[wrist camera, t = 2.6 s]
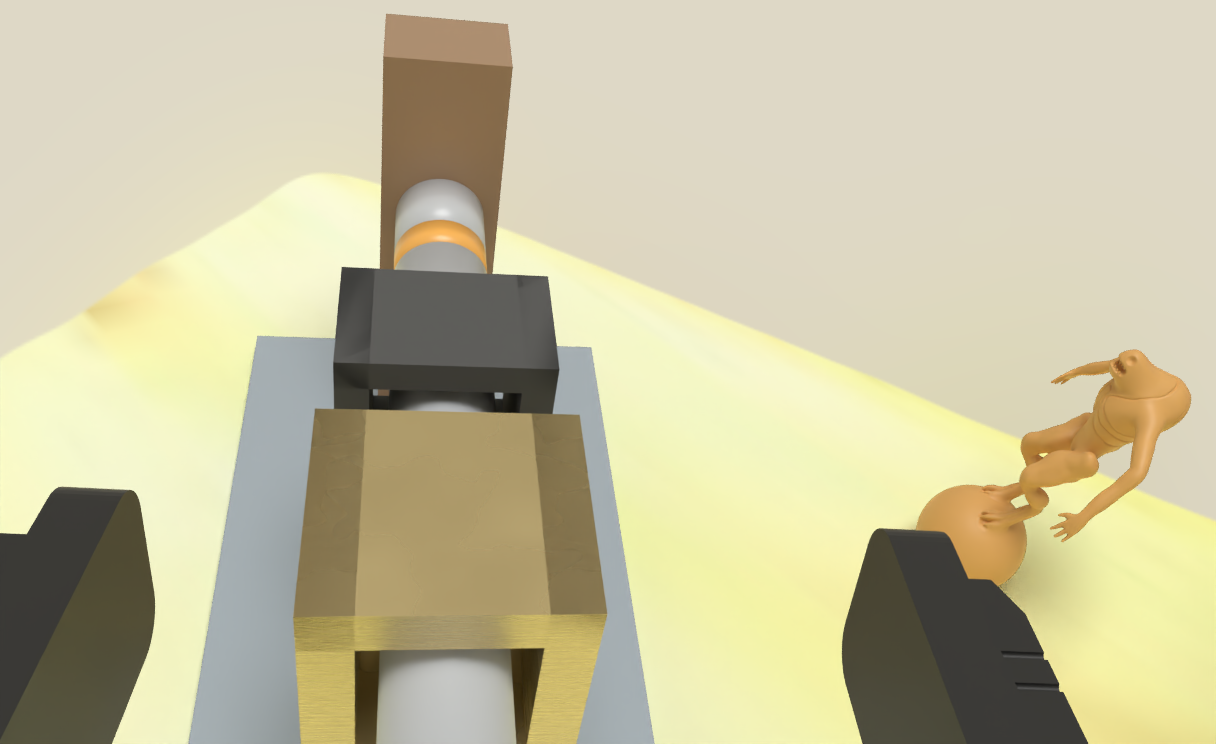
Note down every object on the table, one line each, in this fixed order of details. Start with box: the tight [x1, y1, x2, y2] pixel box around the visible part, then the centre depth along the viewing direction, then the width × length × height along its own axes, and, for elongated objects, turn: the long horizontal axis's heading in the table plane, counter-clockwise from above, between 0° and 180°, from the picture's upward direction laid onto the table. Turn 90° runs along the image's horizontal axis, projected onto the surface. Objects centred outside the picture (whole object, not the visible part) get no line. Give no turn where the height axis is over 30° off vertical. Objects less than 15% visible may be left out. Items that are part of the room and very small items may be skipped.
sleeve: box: [293, 408, 607, 744], centre depth 28 cm, size 6×6×6 cm
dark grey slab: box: [333, 267, 560, 414], centre depth 33 cm, size 6×4×6 cm
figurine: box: [916, 350, 1191, 586], centre depth 40 cm, size 8×6×12 cm
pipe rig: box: [189, 14, 654, 744], centre depth 34 cm, size 14×26×16 cm, turn 7°
